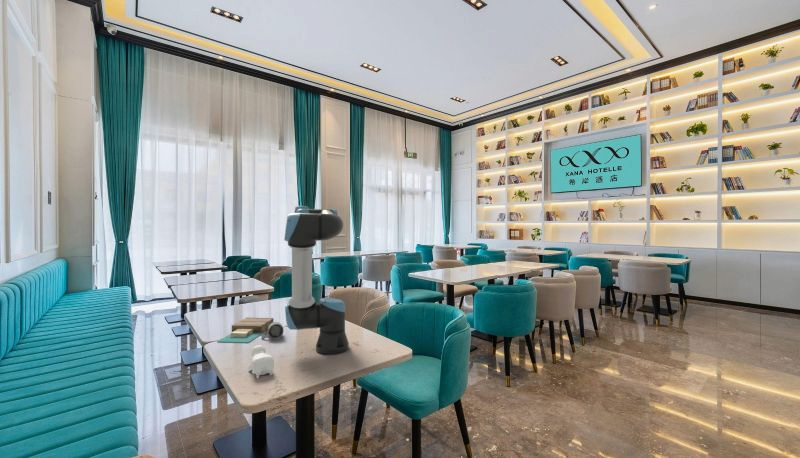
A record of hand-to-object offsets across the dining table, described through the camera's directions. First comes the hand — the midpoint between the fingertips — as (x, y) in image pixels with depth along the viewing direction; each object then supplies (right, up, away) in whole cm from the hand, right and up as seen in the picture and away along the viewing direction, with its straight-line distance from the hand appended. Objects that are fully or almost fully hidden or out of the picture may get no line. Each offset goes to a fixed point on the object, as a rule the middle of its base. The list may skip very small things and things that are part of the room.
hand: (301, 276), depth 194 cm
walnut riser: (-27, -29, 0) cm, 40 cm away
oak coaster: (-28, -29, -12) cm, 42 cm away
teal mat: (-27, -30, -16) cm, 43 cm away
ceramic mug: (-11, -30, -14) cm, 35 cm away
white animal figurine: (-1, -30, -56) cm, 64 cm away
